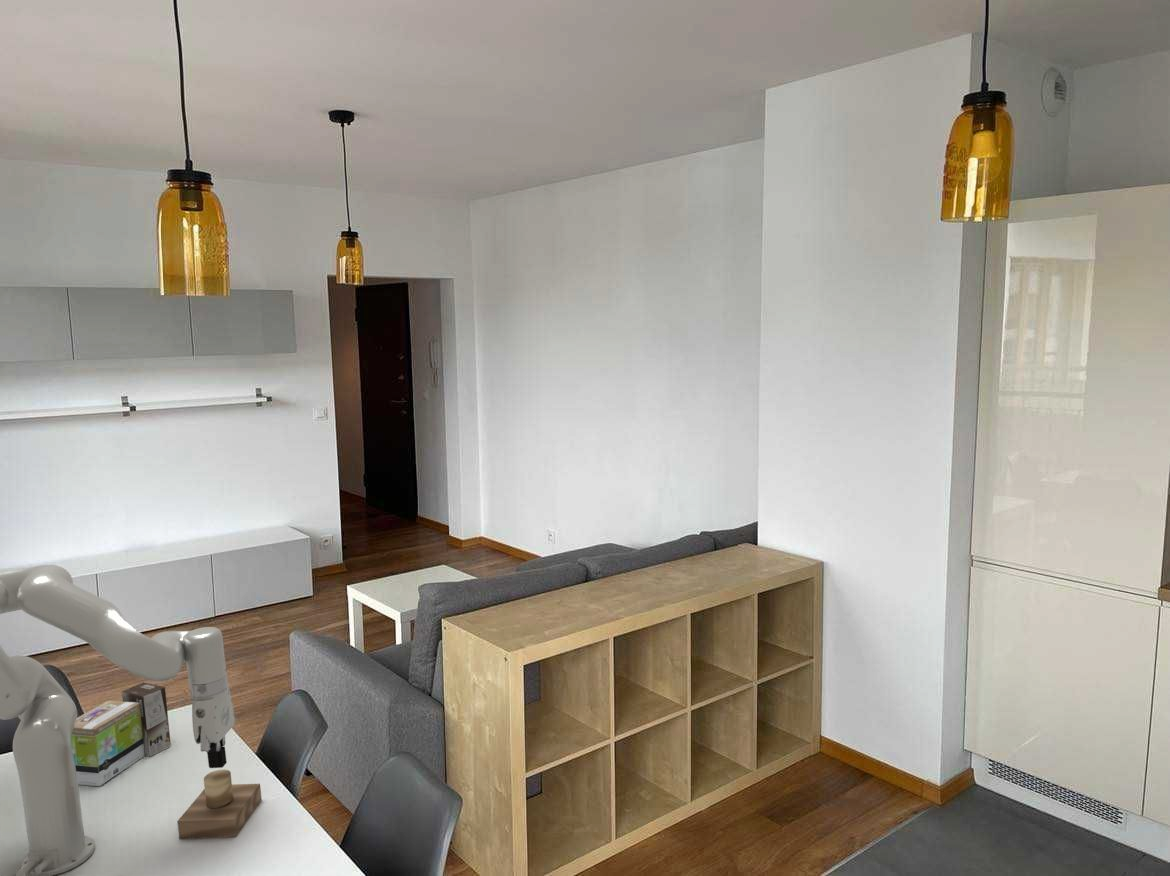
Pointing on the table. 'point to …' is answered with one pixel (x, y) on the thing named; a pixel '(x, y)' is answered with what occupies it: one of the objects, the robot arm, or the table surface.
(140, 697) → the coffee box
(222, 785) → the peg
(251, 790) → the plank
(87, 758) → the tea box
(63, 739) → the robot arm
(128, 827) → the table surface
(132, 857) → the table surface
